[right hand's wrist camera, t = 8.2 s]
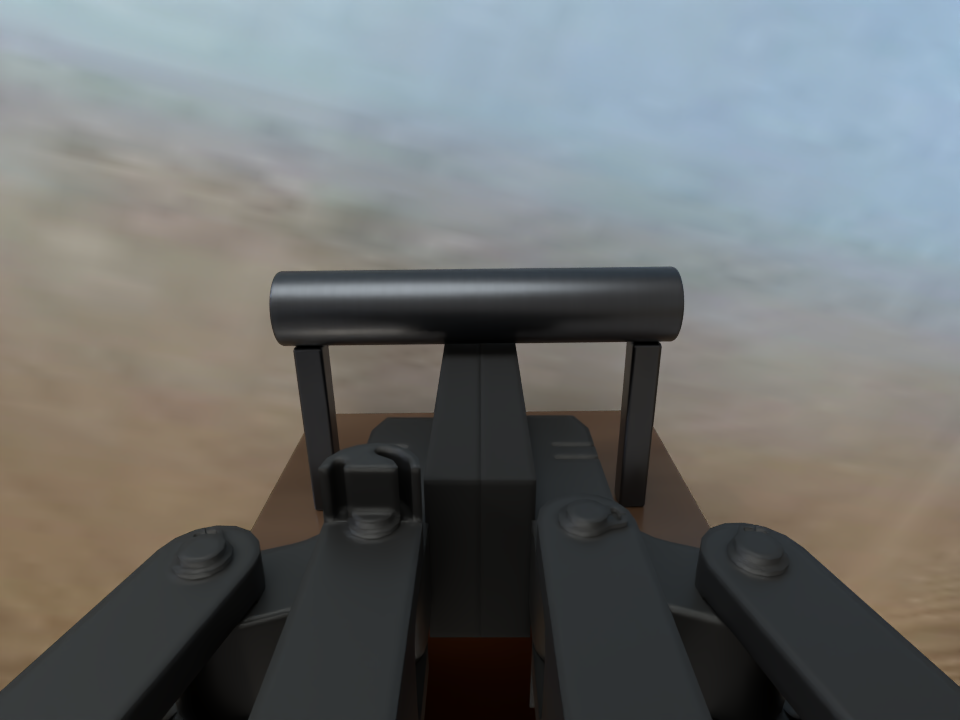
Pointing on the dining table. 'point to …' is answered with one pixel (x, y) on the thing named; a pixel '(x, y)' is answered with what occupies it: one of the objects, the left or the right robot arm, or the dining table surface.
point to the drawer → (616, 434)
